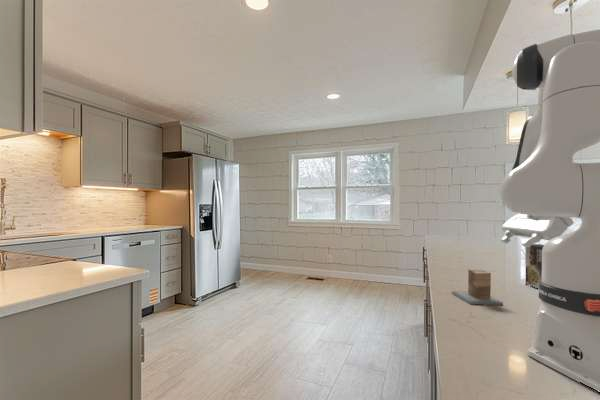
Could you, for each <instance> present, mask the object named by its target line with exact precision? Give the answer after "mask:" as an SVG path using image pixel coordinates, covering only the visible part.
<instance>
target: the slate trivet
mask: <svg viewBox="0 0 600 400" xmlns="http://www.w3.org/2000/svg"><path fill="white" fill-rule="evenodd" d="M451 294H452V295H453V296H455V297H457V298H458V297H459V299H460V298H461V300H462V301H463V302H465V301H466V302H465V303H467V302H468V303H467V304H468V305H475V304H483V305H484V306H485V305H487V306H490V305H491V306H503V305H504V302H503V301H501V300H498V299H496V298H494V297H493V296H490V299H481V298H475V297H473V296H471V295H469V294H468V291H464V290H463V291H460V290H459V291H457V290H456V291H455V290H454V291H452V290H451Z"/></svg>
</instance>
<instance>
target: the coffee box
mask: <svg viewBox="0 0 600 400" xmlns="http://www.w3.org/2000/svg"><path fill="white" fill-rule="evenodd" d="M544 245H545V244H541V243H540V244H538V243H537V244H536V243H534V244H532V245H531V246H530V247H529V248H528V247H524V248H525V255H524V256H525V285H526V284H528V285H530V286H533V287H536V288H538V287H539V282H540V281H541V280H542V249H543V246H544ZM530 286H529V287H530ZM533 287H532V288H533ZM536 288H535V289H536Z"/></svg>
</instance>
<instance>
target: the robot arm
mask: <svg viewBox="0 0 600 400" xmlns="http://www.w3.org/2000/svg"><path fill="white" fill-rule="evenodd" d="M511 71H512V73H511V74H512V79H513V81H514V83H515V84H516V87H517V88H519V89H521V90H528V91H536V89H538V94H537V105H536V106H537V107H536V110H535V112H534V113H532V114H531V115H530V116H528V117H527V118H526V120H525V122H524V125H523V126H522V131H521V135H520V139H519V142H518V143H519V144H518V149H517V152H516V158H515V161H514V164H513V166H512V167H511V171H510V172H508V173H507V174H506V175H505V177H504V178H503V180H502V182H501V185H500V190H499V192H500V193H499V194H500V198H501V201H502V202H503V204H504V206H505V207H506V208H507V209H508V210H509V211H511V212H513V213H516V214H514V215H513V216H512V217H510V218H509V219H508V220H506V221H505V222H504V223H503V224H502V225H501V227H500V228H501V230H502V231H503V232H504V234H503V237H502V238H501V239H500V240H501V242H502V244H508V243H510V242H511V237H512V238H513V237H514V236H517V237H523V238H524V237H525V238H527V239H524V240H523V241H522V242H521V245H522V246H523V247H524V248H525V247H528V248H529V247H530V246H531V245H532V244H536V243H537V244H538V243H539V242H540V241H542V240H545V241H546V243H545V244H543V245H544V246H543V249H542V280H541V281H540V282H539V287H538V289H537V290H538V291H537V292H538V298H539V299H540V304H539V308H538V310H537V312H536V315H535V322H534V329H533V335H532V341H531V345H530V346H529V348H528V349H527V355H528V356H529V357H530V358H532V359H534V360H536V361H538V362H540V363H541V364H544V365H545V366H547V367H550V368H551V369H553V370H555V371H556V372H559V373H560V374H563V375H565V376H566V377H568V378H570V379H572V380H574V381H576V382H578V383H580V382H581V383H583V384H585V385H587V386H590V387H592V388H595V389H597V390H599V391H600V162H581V163H579V162H574V160H573V159H574V158H573V157H574V155H575V154H576V153H578V152H580V151H582V150H584V149H587V148H589V147H591V146H595V145H596V144H598V143H600V29H593V30H588V31H583V32H578V33H574V34H573V33H570V34H567V35H562V36H559V37H556V38H553V39H550V40H547V41H544V42H541V43H539V44H537V43H534V44H532V45H529V46H527V47H525V48H522V49H521V50H520V51H519V53H517V54H516V58H515V60H514V62H513V65H512V70H511ZM572 218H578V219H581V224H580V225H579V227H578V229H576V230H575V231H573V232H567V233H565V232H566V231H567V230H568V228H570V227H571V226H572V225H574V223H575V221H574V220H573V219H572ZM564 233H565V234H564ZM581 383H580V384H581ZM583 384H582V385H583ZM585 385H584V386H585ZM587 386H586V387H587Z"/></svg>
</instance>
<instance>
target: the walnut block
mask: <svg viewBox="0 0 600 400" xmlns="http://www.w3.org/2000/svg"><path fill="white" fill-rule="evenodd" d="M467 272H468V278H467V279H468V283H467V286H468V287H467V289H468V290H467V292H468V294H469V295H471V296H473V297H475V298H481V299H490V297H491V291H492V289H491V284H492V283H491V275H492V273H491V272H490V271H486V270H483V269H468V271H467Z"/></svg>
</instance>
